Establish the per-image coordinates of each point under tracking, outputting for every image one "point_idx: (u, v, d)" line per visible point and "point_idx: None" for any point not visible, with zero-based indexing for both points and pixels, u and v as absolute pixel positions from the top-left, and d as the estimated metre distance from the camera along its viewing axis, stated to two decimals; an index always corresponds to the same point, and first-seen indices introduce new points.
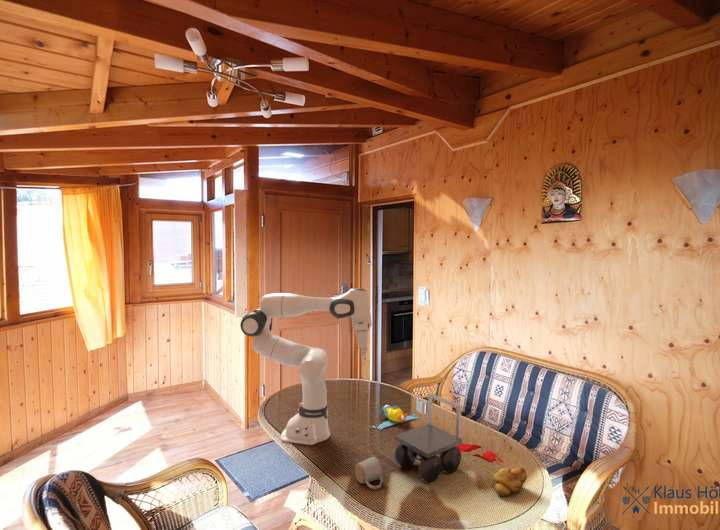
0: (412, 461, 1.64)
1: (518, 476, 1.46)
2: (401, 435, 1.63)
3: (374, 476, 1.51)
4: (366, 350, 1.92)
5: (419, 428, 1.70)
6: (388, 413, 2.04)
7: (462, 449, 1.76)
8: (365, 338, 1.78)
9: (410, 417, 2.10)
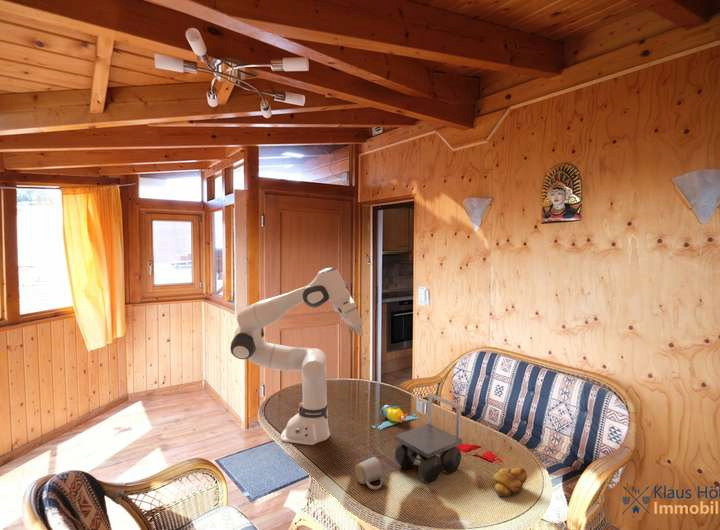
0: (412, 461, 1.64)
1: (518, 477, 1.46)
2: (401, 435, 1.63)
3: (374, 476, 1.51)
4: (355, 329, 1.76)
5: (419, 428, 1.70)
6: (388, 413, 2.05)
7: (462, 449, 1.76)
8: (358, 315, 1.62)
9: (410, 417, 2.10)
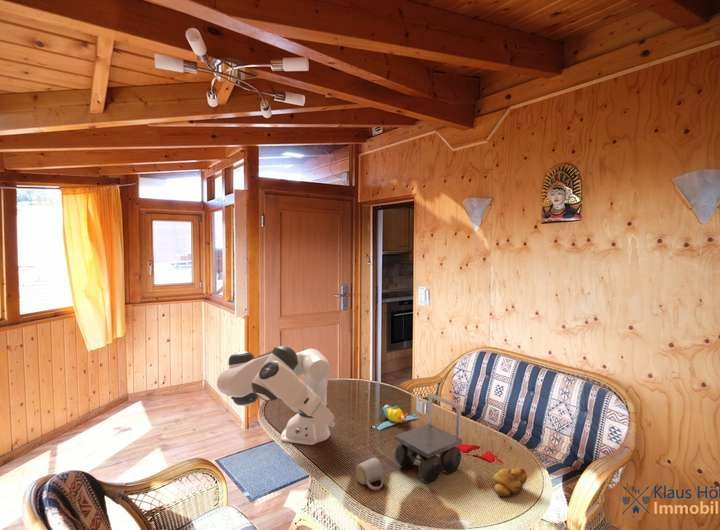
0: (412, 461, 1.64)
1: (518, 477, 1.46)
2: (401, 435, 1.63)
3: (375, 477, 1.51)
4: None
5: (419, 428, 1.70)
6: (388, 413, 2.04)
7: (461, 449, 1.76)
8: (327, 410, 1.30)
9: (410, 417, 2.10)
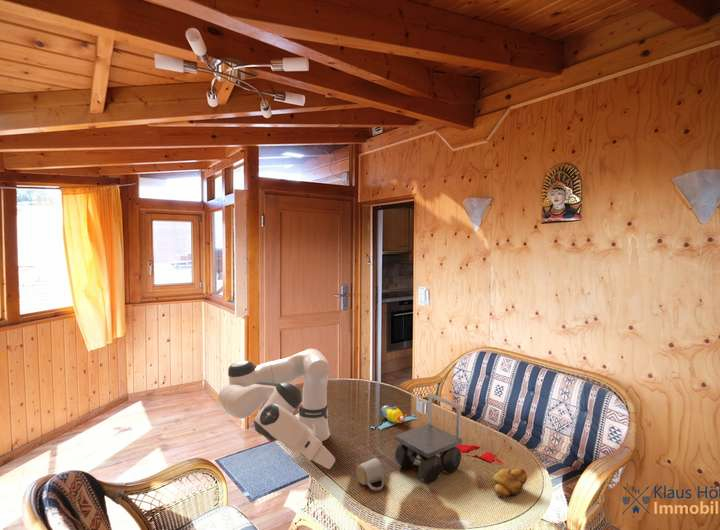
0: (412, 461, 1.64)
1: (518, 477, 1.45)
2: (401, 435, 1.63)
3: (376, 477, 1.50)
4: None
5: (419, 428, 1.70)
6: (387, 414, 2.04)
7: (461, 450, 1.75)
8: (328, 454, 1.30)
9: (409, 418, 2.10)
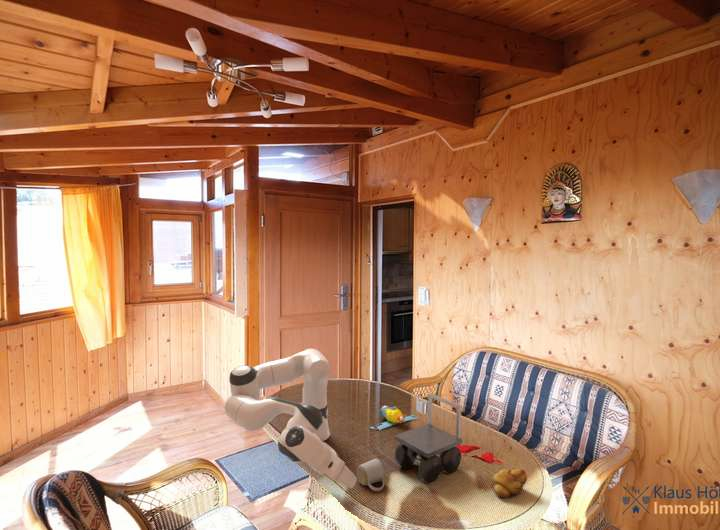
0: (412, 461, 1.64)
1: (518, 478, 1.45)
2: (401, 435, 1.63)
3: (376, 478, 1.50)
4: None
5: (419, 428, 1.70)
6: (387, 414, 2.04)
7: (461, 450, 1.75)
8: (351, 474, 1.35)
9: (409, 418, 2.10)
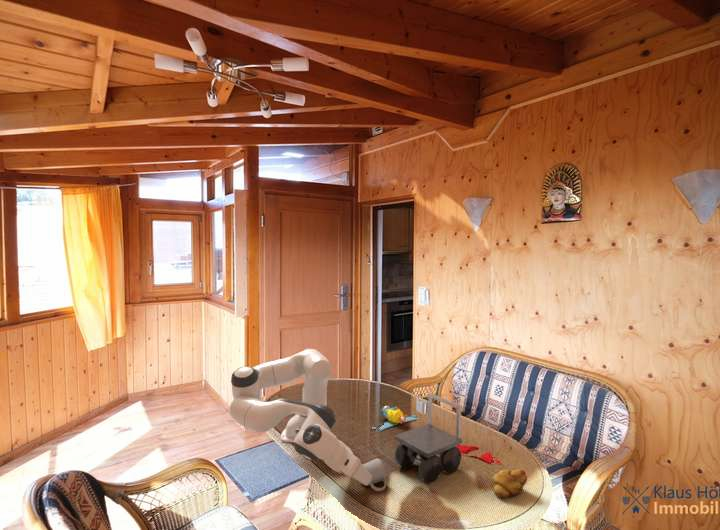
0: (412, 461, 1.64)
1: (518, 478, 1.45)
2: (401, 435, 1.63)
3: (378, 478, 1.50)
4: None
5: (419, 428, 1.70)
6: (388, 414, 2.03)
7: (460, 450, 1.75)
8: (366, 471, 1.39)
9: (410, 418, 2.09)
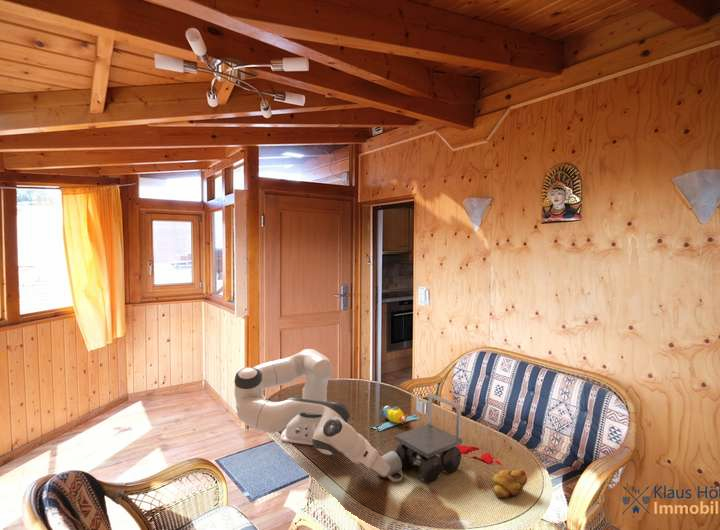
0: (412, 461, 1.64)
1: (518, 479, 1.44)
2: (401, 435, 1.63)
3: (395, 469, 1.55)
4: None
5: (419, 428, 1.70)
6: (388, 414, 2.03)
7: (460, 451, 1.75)
8: (385, 462, 1.44)
9: (410, 418, 2.09)
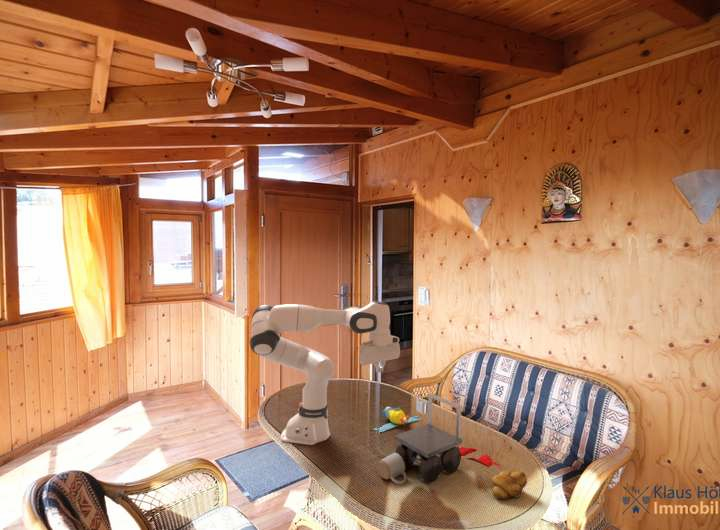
0: (412, 461, 1.64)
1: (517, 480, 1.43)
2: (401, 435, 1.63)
3: (398, 471, 1.54)
4: None
5: (419, 428, 1.70)
6: (390, 415, 2.02)
7: None
8: None
9: (412, 419, 2.08)
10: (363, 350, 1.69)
